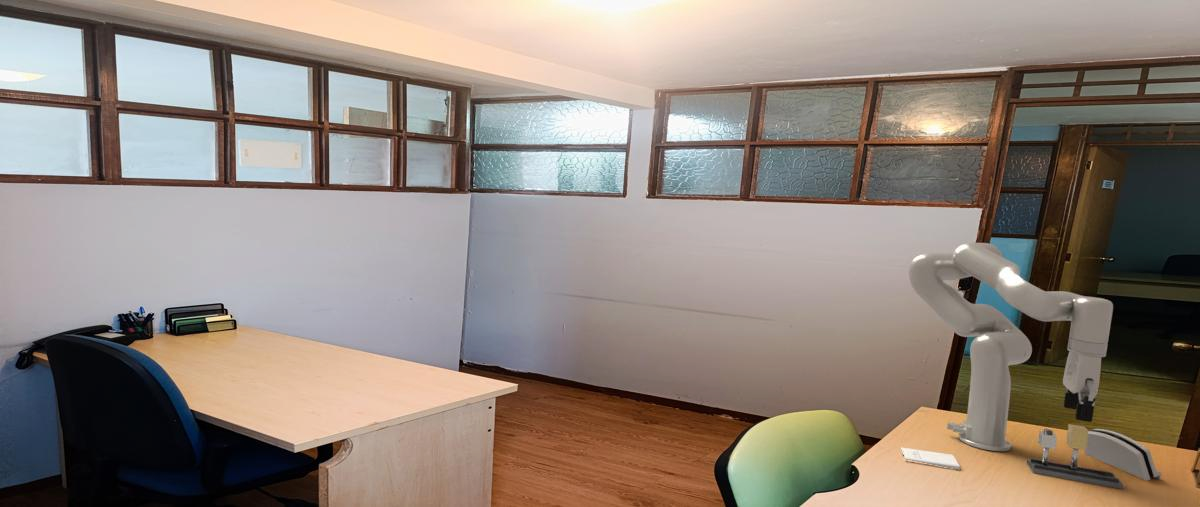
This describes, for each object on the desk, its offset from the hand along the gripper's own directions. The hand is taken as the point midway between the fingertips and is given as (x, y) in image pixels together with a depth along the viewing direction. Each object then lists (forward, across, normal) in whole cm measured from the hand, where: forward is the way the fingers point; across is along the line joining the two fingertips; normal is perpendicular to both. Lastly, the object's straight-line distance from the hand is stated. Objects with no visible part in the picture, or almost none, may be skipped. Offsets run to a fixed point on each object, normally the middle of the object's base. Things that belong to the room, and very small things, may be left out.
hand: (1077, 414), depth 154 cm
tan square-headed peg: (+14, +1, +1) cm, 14 cm away
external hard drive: (+17, +9, -32) cm, 37 cm away
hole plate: (+16, +1, +1) cm, 16 cm away
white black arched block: (+16, -13, +14) cm, 25 cm away
